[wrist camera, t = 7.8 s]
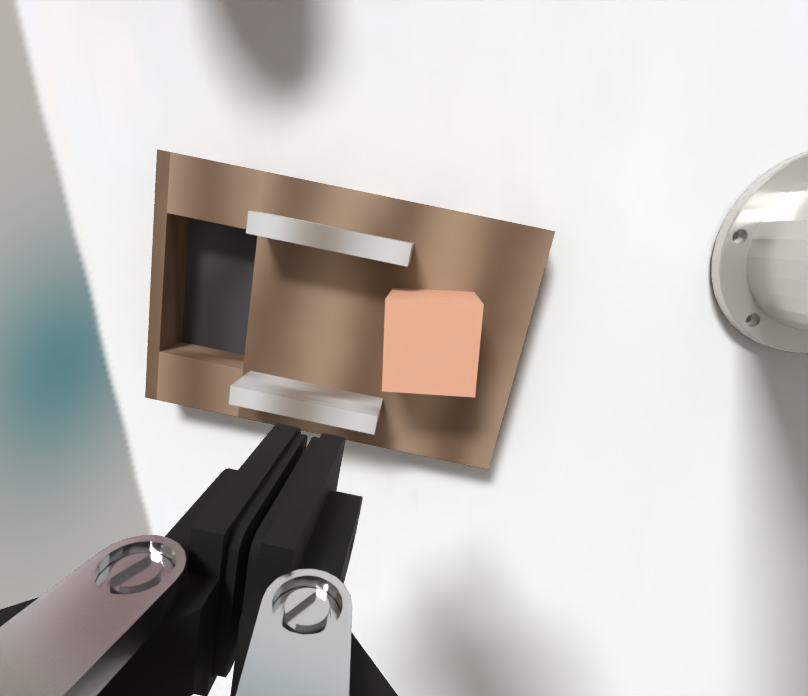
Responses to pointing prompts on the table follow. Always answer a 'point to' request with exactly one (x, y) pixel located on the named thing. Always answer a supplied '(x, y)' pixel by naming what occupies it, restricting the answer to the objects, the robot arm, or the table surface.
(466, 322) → the block
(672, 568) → the table surface
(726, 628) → the table surface
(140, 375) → the table surface
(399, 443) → the board
